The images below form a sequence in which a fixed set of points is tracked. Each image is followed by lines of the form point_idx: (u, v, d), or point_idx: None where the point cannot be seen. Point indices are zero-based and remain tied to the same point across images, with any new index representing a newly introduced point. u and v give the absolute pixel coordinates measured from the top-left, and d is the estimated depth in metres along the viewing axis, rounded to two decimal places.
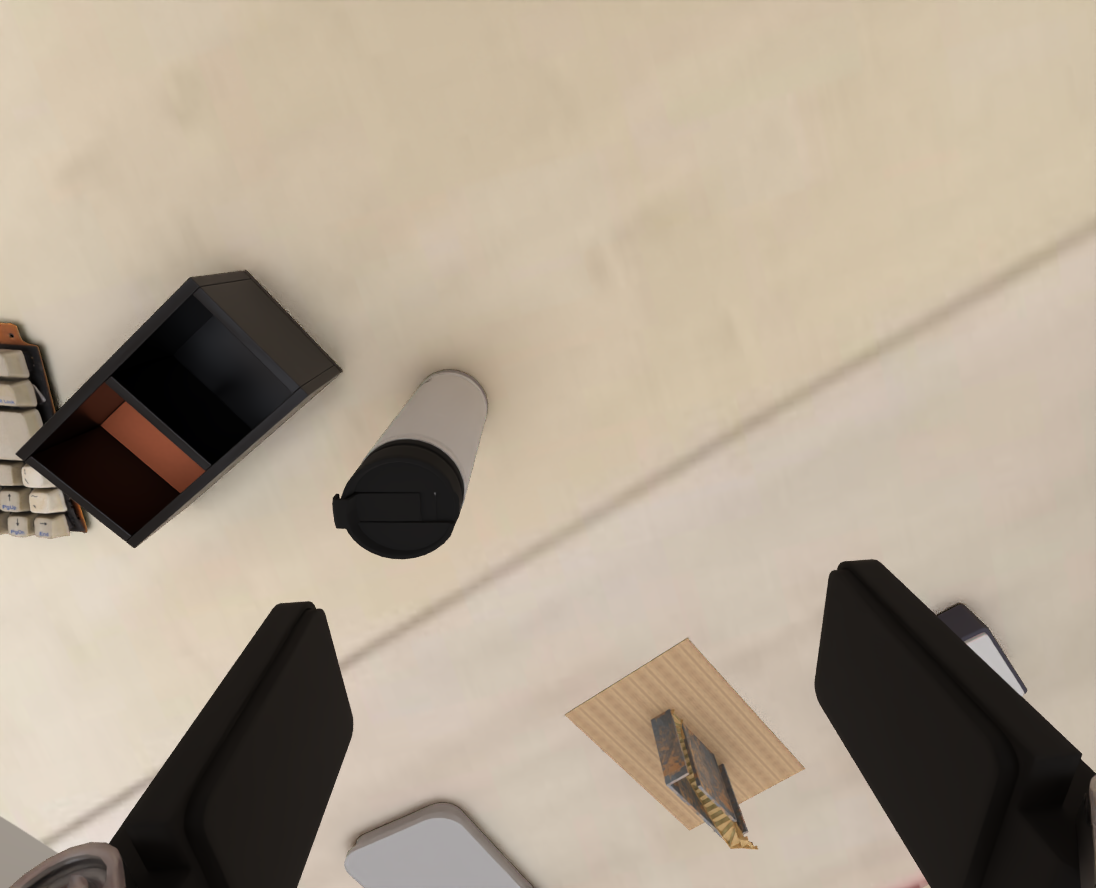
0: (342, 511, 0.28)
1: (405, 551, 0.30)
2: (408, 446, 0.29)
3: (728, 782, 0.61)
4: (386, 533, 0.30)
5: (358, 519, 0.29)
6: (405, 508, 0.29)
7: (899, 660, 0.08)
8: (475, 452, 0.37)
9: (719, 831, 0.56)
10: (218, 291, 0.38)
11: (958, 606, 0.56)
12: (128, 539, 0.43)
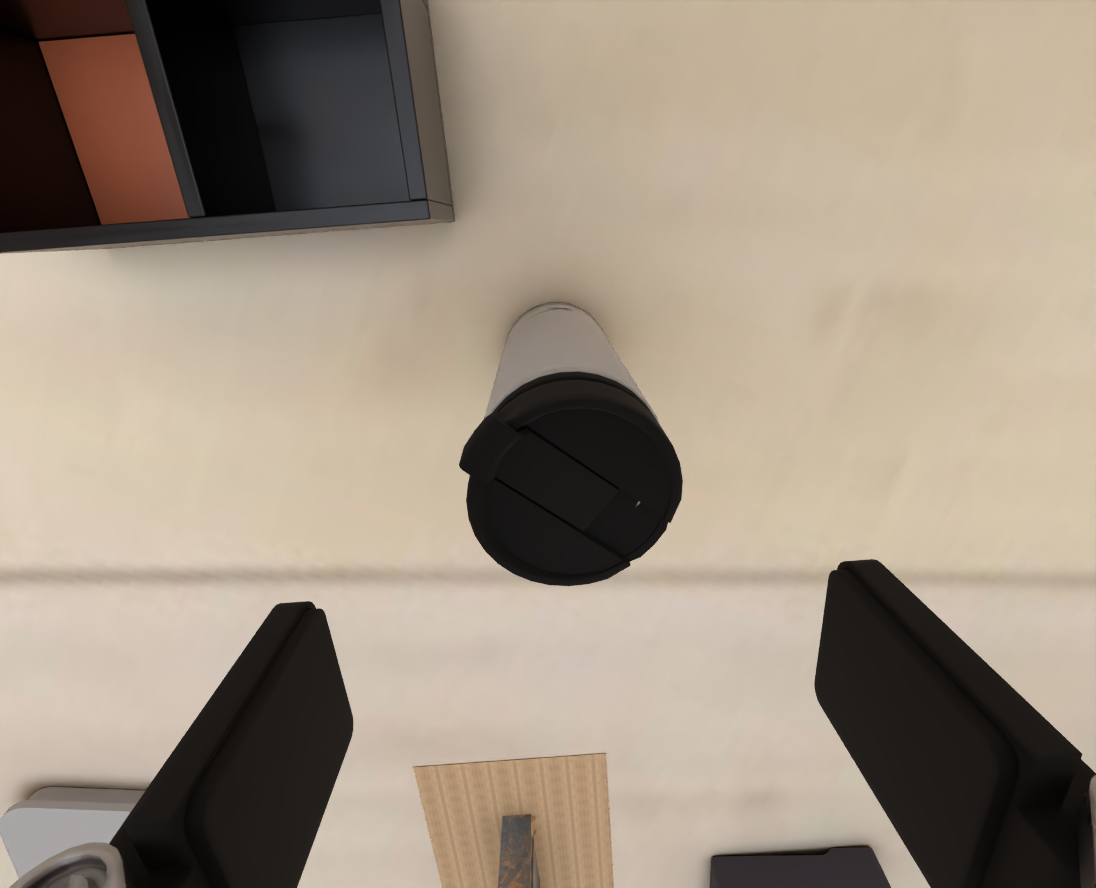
0: (494, 448, 0.14)
1: (522, 561, 0.16)
2: (642, 405, 0.16)
3: None
4: (517, 519, 0.16)
5: (496, 472, 0.15)
6: (579, 499, 0.16)
7: (899, 660, 0.08)
8: None
9: None
10: None
11: (867, 849, 0.50)
12: None
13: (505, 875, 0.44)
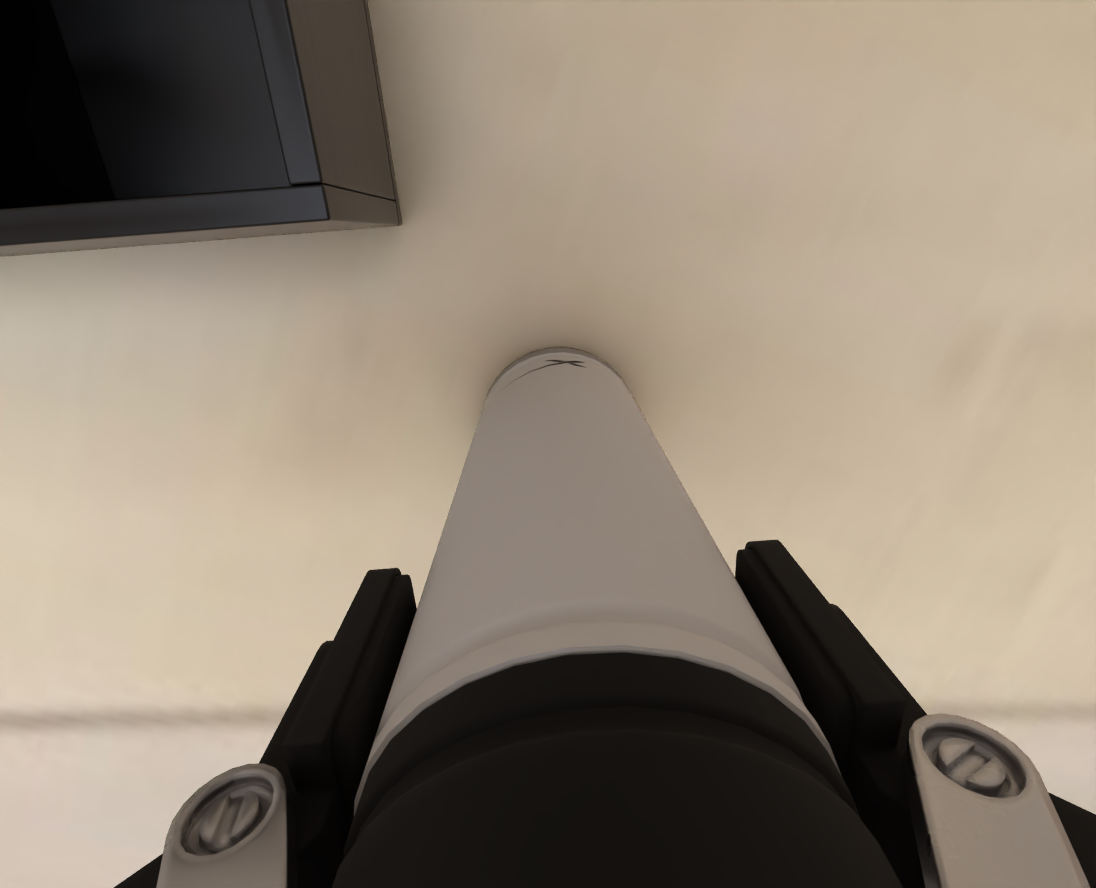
0: None
1: None
2: (830, 795, 0.05)
3: None
4: None
5: None
6: None
7: (779, 627, 0.08)
8: None
9: None
10: None
11: None
12: None
13: None
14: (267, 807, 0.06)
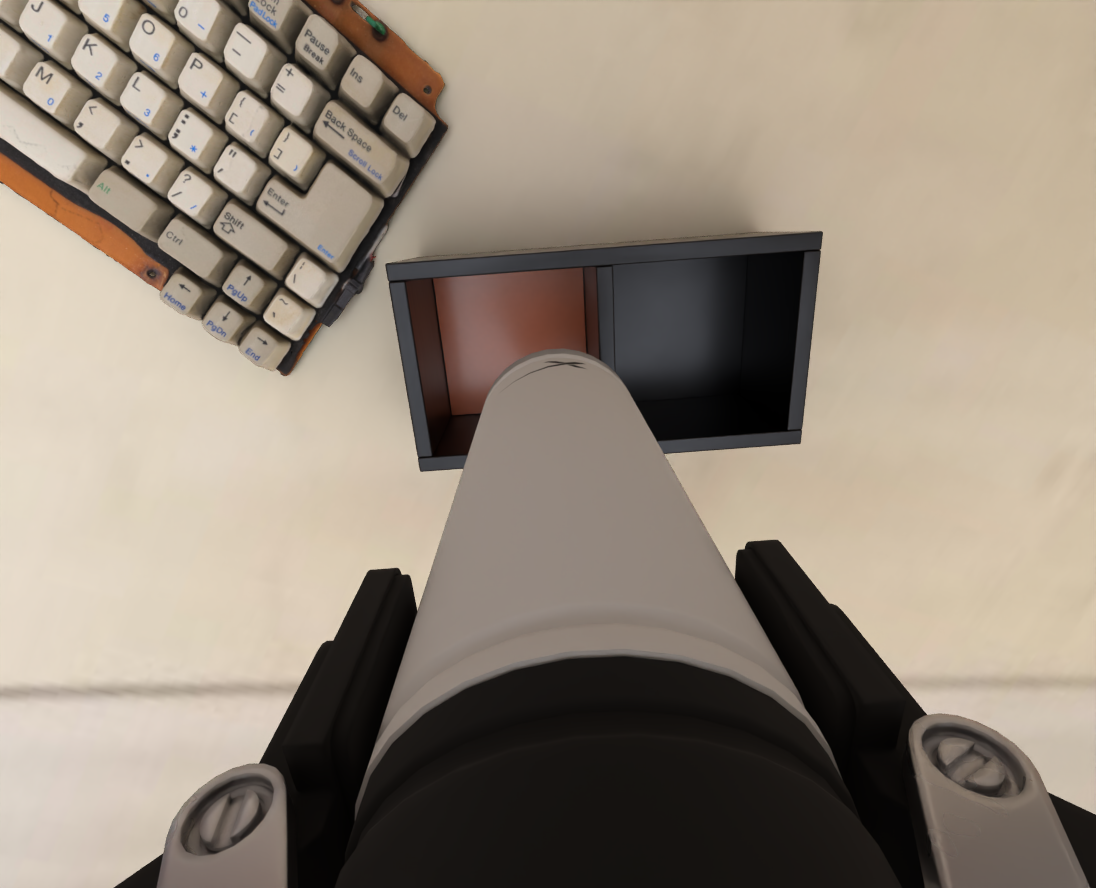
0: None
1: None
2: (830, 799, 0.05)
3: None
4: None
5: None
6: None
7: (779, 627, 0.08)
8: None
9: None
10: None
11: None
12: (422, 457, 0.28)
13: None
14: (267, 807, 0.06)
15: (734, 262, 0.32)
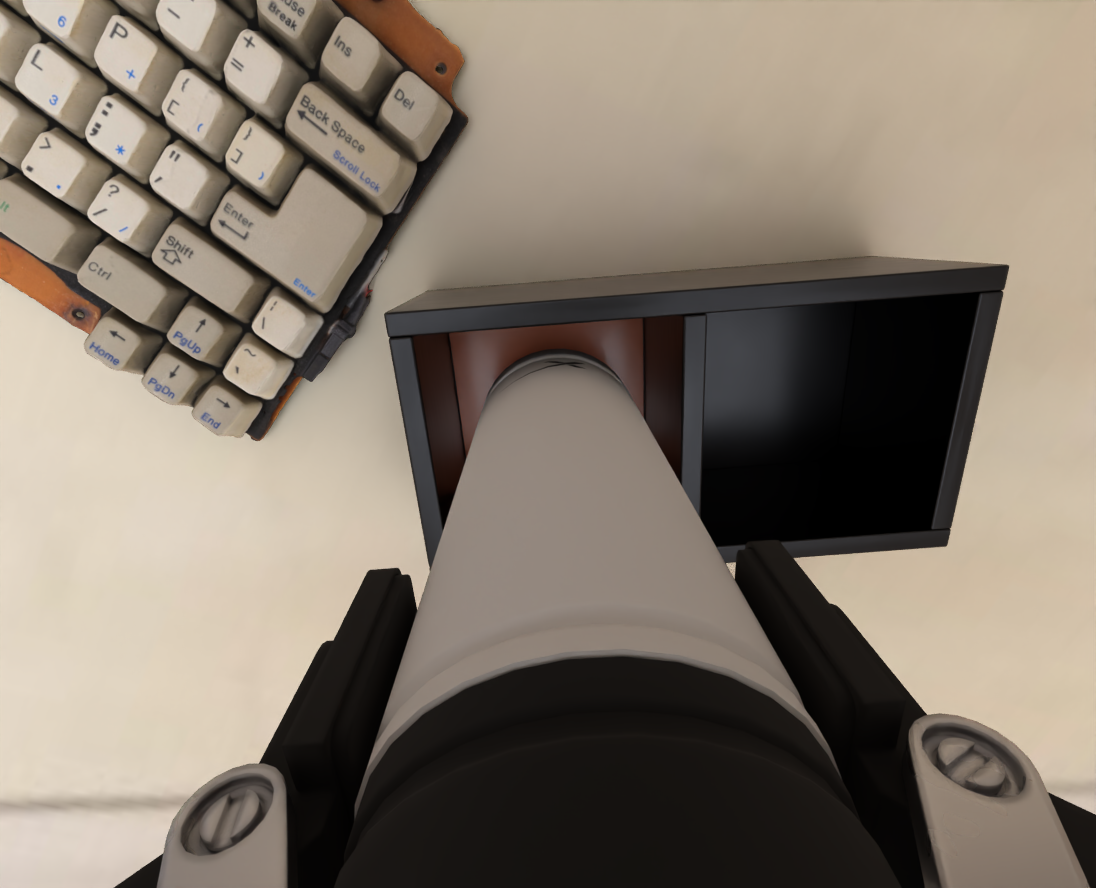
0: None
1: None
2: (830, 799, 0.05)
3: None
4: None
5: None
6: None
7: (780, 627, 0.08)
8: None
9: None
10: None
11: None
12: None
13: None
14: (267, 807, 0.06)
15: None
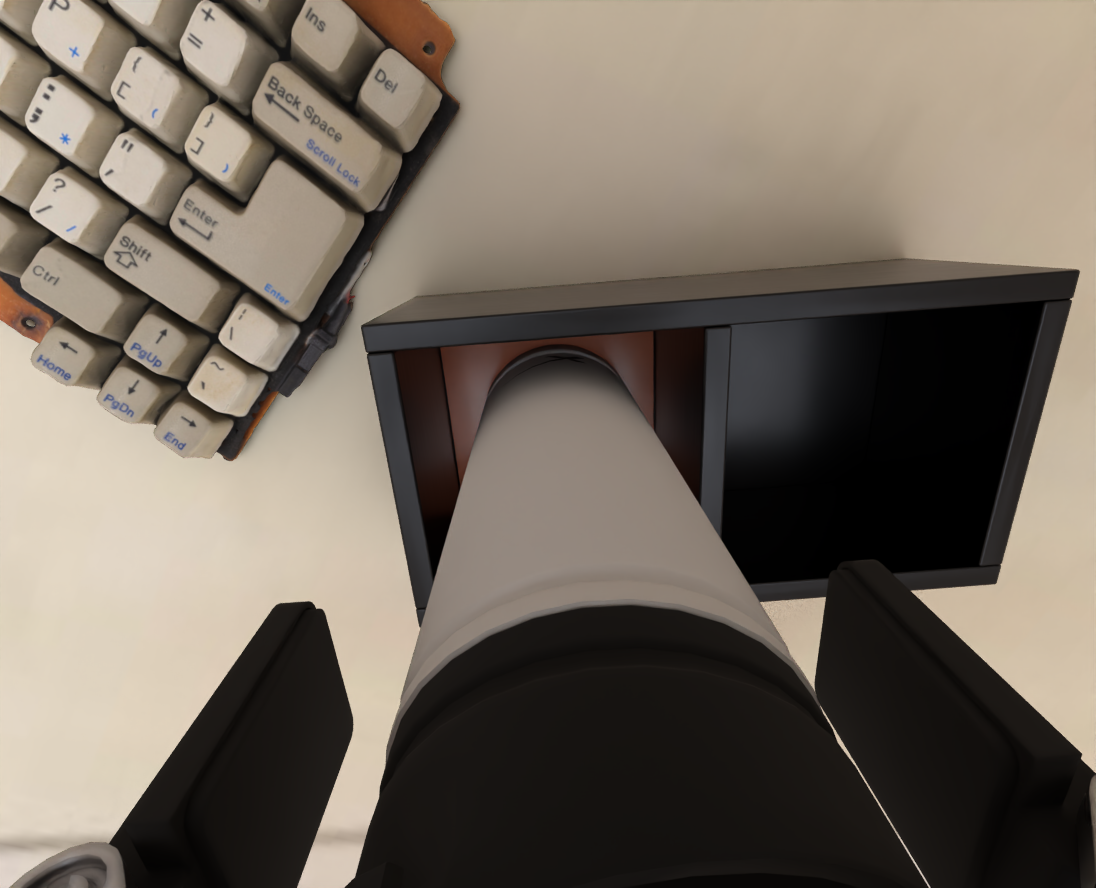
0: None
1: None
2: (813, 722, 0.06)
3: None
4: None
5: None
6: None
7: (899, 660, 0.08)
8: None
9: None
10: None
11: None
12: (423, 607, 0.19)
13: None
14: None
15: None
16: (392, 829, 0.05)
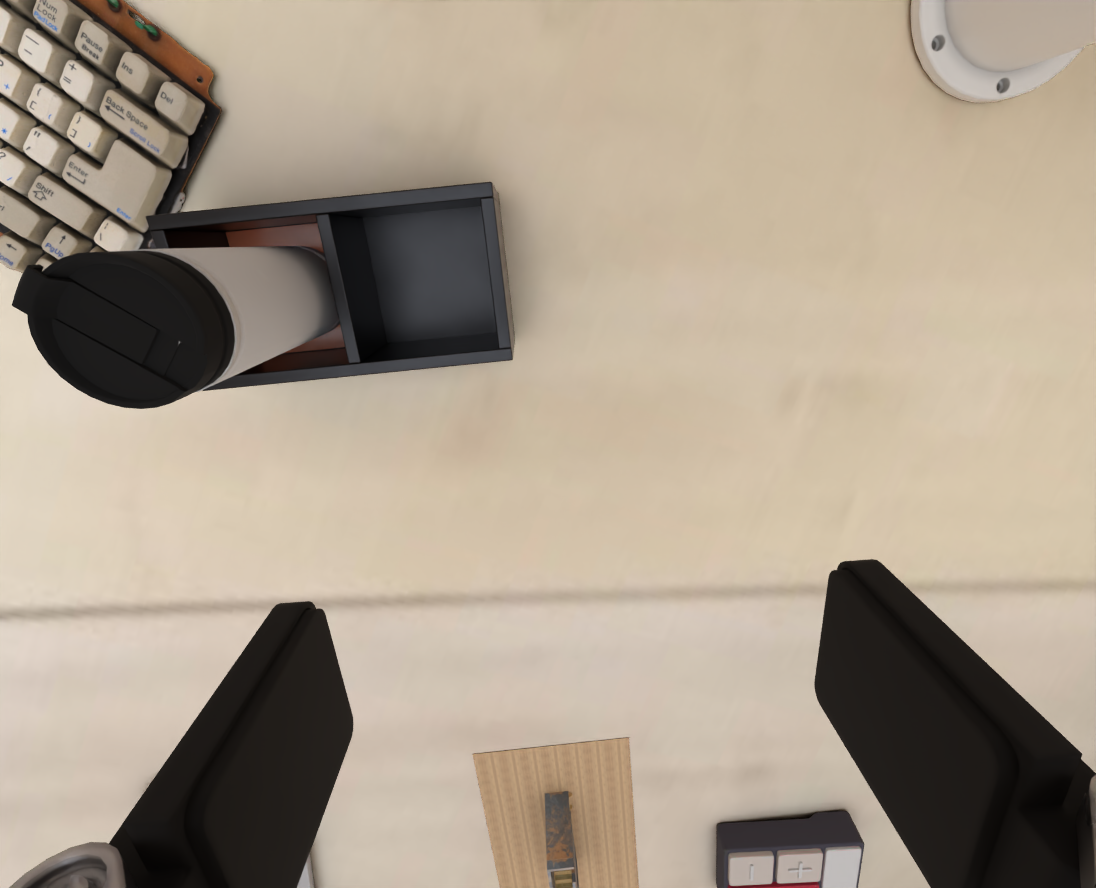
0: (31, 288, 0.20)
1: (100, 389, 0.22)
2: (180, 270, 0.22)
3: (577, 880, 0.61)
4: (85, 353, 0.22)
5: (54, 314, 0.21)
6: (128, 337, 0.22)
7: (899, 660, 0.08)
8: (283, 343, 0.30)
9: None
10: (496, 208, 0.33)
11: (844, 812, 0.61)
12: None
13: (551, 838, 0.55)
14: None
15: (478, 218, 0.38)
16: None
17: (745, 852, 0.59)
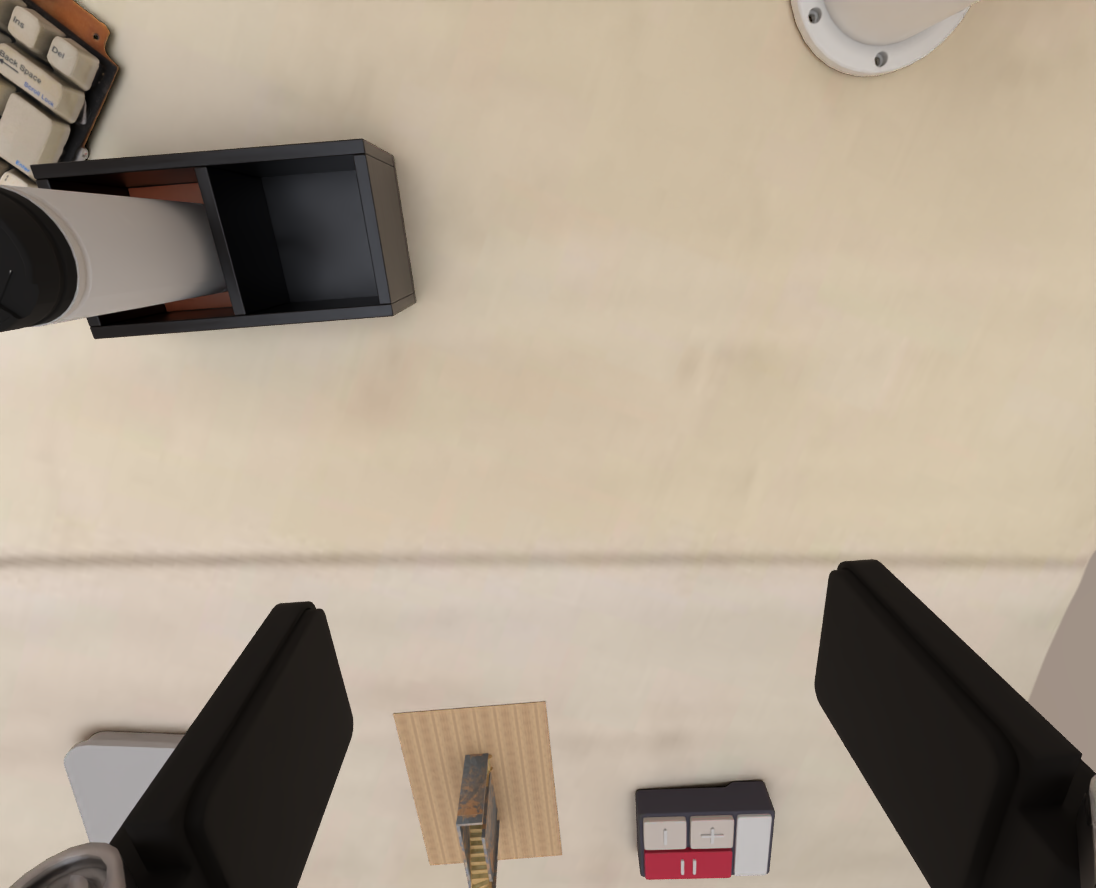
0: None
1: None
2: (12, 202, 0.23)
3: (497, 840, 0.63)
4: None
5: None
6: None
7: (899, 660, 0.08)
8: (154, 288, 0.31)
9: (471, 884, 0.57)
10: (374, 166, 0.34)
11: (760, 782, 0.63)
12: (94, 326, 0.36)
13: (465, 796, 0.56)
14: None
15: None
16: None
17: (659, 816, 0.61)
